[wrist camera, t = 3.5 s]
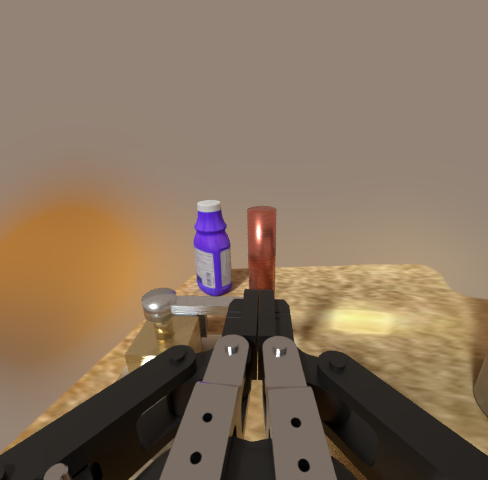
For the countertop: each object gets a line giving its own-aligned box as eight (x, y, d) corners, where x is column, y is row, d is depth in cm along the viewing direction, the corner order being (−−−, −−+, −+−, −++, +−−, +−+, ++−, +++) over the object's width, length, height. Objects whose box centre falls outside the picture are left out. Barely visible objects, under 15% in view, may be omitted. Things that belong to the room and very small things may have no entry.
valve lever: (152, 302, 28) (135, 206, 25) (274, 305, 27) (275, 204, 24) (138, 321, 26) (117, 215, 22) (275, 325, 25) (277, 214, 21)
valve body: (172, 337, 38) (163, 275, 35) (211, 339, 38) (205, 276, 34) (112, 466, 23) (85, 380, 20) (175, 471, 23) (159, 384, 19)
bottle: (238, 290, 52) (234, 202, 46) (214, 302, 49) (207, 208, 43) (215, 277, 58) (209, 196, 51) (192, 287, 54) (183, 201, 48)
